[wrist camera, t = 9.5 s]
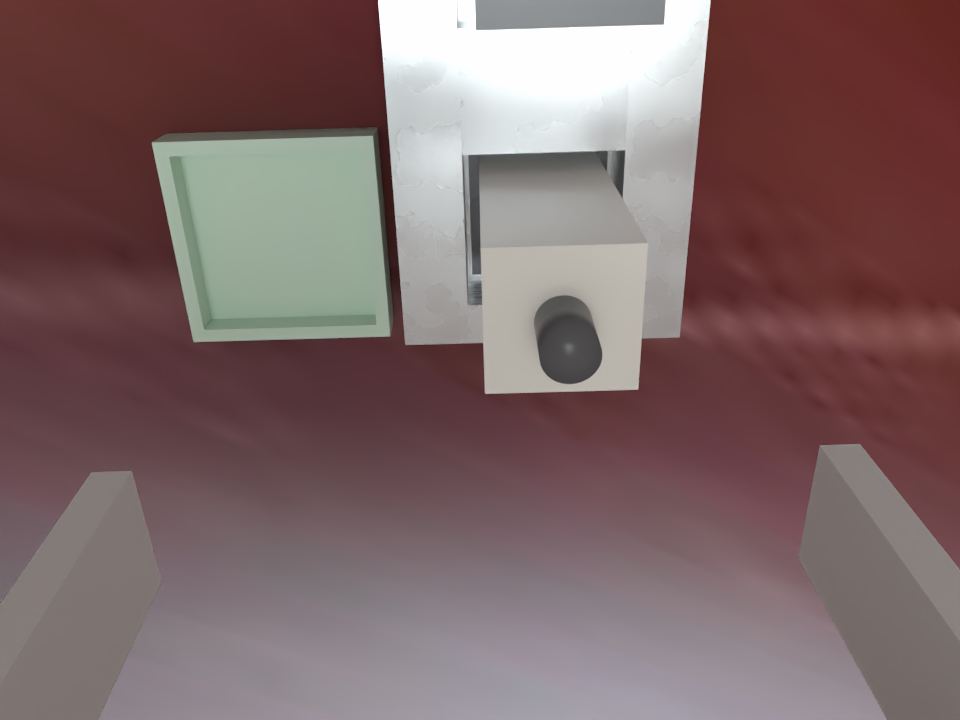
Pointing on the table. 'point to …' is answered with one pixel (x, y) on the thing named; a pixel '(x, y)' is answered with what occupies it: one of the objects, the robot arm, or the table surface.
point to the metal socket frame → (534, 141)
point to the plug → (558, 276)
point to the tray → (278, 232)
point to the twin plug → (566, 13)
